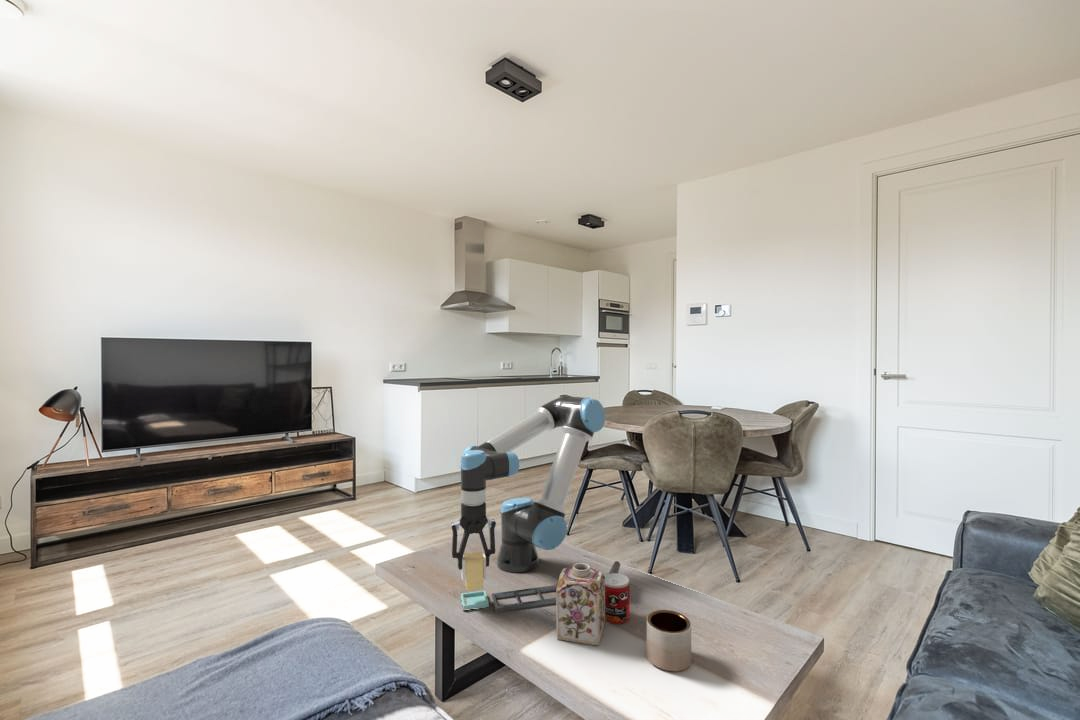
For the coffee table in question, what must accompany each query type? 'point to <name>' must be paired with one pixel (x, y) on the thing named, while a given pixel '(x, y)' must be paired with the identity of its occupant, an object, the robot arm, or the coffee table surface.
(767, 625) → the coffee table surface
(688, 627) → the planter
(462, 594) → the parts tray
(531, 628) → the coffee table surface
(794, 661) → the coffee table surface
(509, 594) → the rail
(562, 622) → the decorative jar
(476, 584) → the block
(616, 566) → the portable electronic device stand
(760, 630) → the coffee table surface
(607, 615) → the canned food
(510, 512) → the robot arm
